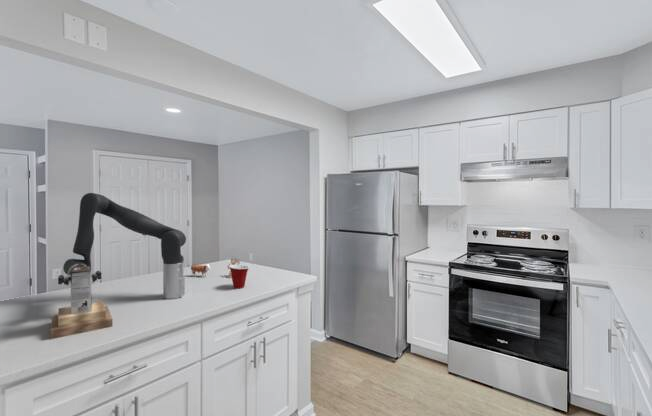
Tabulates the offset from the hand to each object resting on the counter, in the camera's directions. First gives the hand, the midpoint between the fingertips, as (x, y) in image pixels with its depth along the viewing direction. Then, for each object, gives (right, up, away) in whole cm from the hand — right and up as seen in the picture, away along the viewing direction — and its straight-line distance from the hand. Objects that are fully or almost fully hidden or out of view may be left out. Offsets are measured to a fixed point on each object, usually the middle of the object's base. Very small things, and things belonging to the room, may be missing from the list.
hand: (81, 281), depth 128 cm
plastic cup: (+50, -15, +51) cm, 73 cm away
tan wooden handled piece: (+40, -14, +74) cm, 86 cm away
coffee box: (+3, -10, -4) cm, 12 cm away
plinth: (+3, -16, -4) cm, 17 cm away
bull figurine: (+20, -14, +73) cm, 77 cm away
